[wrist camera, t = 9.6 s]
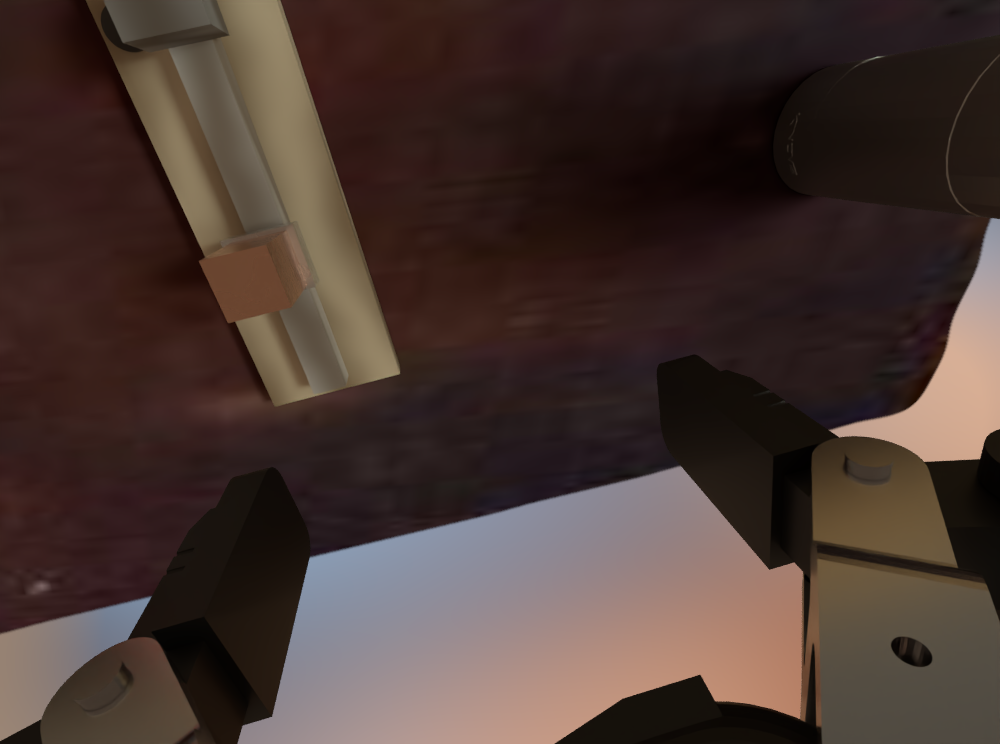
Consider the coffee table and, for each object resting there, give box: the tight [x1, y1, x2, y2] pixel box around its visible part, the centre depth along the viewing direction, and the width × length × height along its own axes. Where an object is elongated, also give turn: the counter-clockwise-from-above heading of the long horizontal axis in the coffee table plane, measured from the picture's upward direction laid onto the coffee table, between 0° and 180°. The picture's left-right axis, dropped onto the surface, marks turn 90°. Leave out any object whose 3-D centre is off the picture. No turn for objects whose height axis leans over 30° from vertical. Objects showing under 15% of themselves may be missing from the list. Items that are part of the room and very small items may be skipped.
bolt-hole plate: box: [86, 0, 400, 407], centre depth 32 cm, size 10×30×6 cm, turn 12°
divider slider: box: [199, 221, 320, 323], centre depth 31 cm, size 4×4×9 cm
